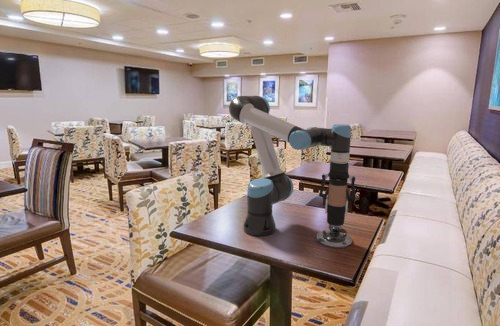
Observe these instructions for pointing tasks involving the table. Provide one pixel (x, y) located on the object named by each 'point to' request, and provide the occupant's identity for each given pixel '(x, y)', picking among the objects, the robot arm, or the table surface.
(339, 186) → the travel mug
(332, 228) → the fitting
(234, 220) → the table surface
